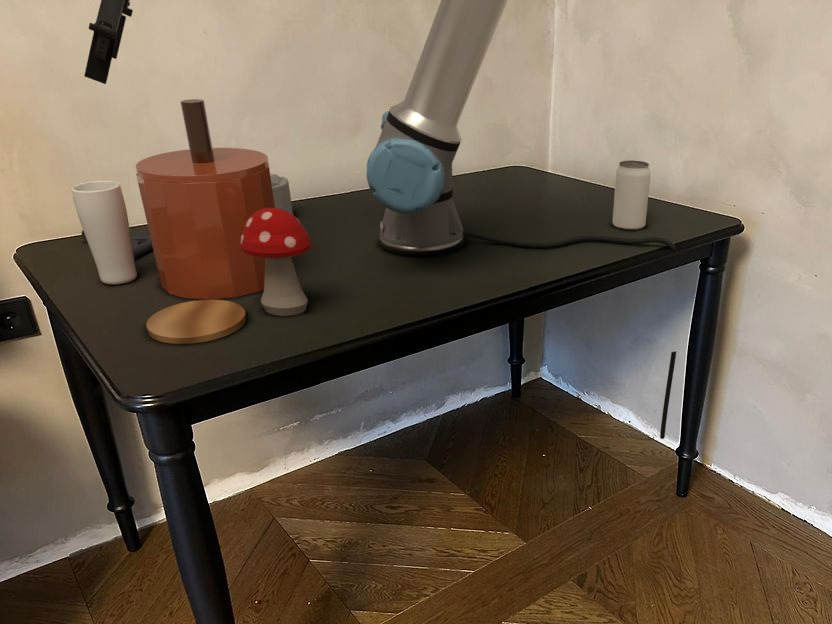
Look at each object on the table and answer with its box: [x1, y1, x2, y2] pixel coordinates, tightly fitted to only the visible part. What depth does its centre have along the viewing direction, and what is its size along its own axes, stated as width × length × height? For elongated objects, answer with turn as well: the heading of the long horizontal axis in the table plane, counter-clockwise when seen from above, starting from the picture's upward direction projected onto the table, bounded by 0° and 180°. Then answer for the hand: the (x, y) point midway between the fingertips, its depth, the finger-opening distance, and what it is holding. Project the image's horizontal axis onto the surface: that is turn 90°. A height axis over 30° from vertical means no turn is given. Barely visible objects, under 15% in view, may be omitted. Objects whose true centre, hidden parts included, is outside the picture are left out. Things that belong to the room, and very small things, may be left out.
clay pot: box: [135, 98, 275, 300], centre depth 116 cm, size 19×19×27 cm
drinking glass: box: [70, 180, 138, 286], centre depth 117 cm, size 7×7×15 cm
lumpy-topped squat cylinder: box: [270, 172, 294, 215], centre depth 148 cm, size 10×13×9 cm
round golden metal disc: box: [145, 299, 247, 345], centre depth 106 cm, size 13×13×1 cm
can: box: [611, 159, 651, 231], centre depth 146 cm, size 6×6×12 cm
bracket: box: [81, 229, 153, 260], centre depth 135 cm, size 14×15×3 cm
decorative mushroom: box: [240, 208, 312, 317], centre depth 108 cm, size 10×9×15 cm
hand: (101, 67), depth 111 cm, fingers open, 13 cm apart
